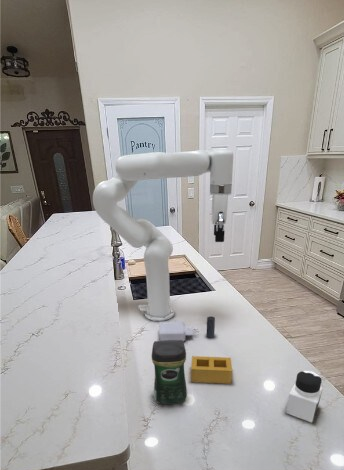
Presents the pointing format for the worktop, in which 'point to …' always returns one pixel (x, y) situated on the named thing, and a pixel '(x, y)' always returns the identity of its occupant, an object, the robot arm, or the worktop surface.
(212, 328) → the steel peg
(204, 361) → the ochre block
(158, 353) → the coffee jar
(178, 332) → the charger
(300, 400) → the medicine bottle
